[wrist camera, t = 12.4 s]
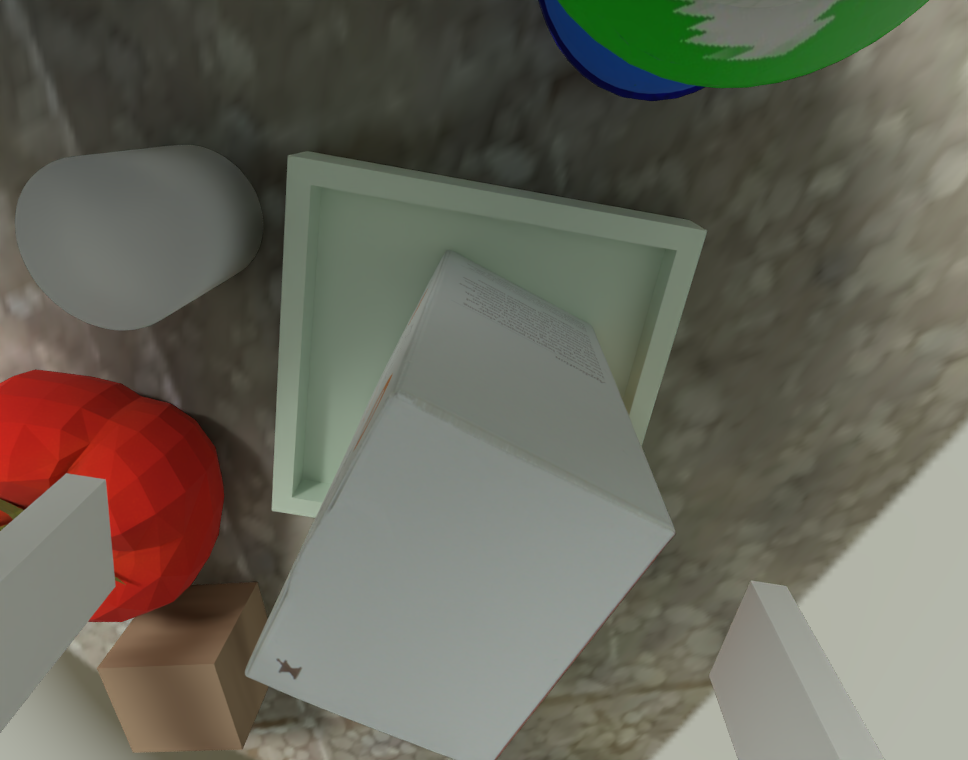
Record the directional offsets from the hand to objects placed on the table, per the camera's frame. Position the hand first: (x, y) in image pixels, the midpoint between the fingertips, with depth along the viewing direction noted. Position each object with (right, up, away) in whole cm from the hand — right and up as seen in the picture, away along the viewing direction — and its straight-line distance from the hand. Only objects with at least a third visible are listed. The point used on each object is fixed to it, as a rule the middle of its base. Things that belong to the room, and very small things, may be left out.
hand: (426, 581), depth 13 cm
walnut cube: (-12, -8, +19) cm, 24 cm away
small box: (+1, +5, +12) cm, 13 cm away
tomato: (-15, +1, +15) cm, 21 cm away
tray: (+1, +5, +13) cm, 14 cm away
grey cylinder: (-10, +10, +11) cm, 18 cm away
